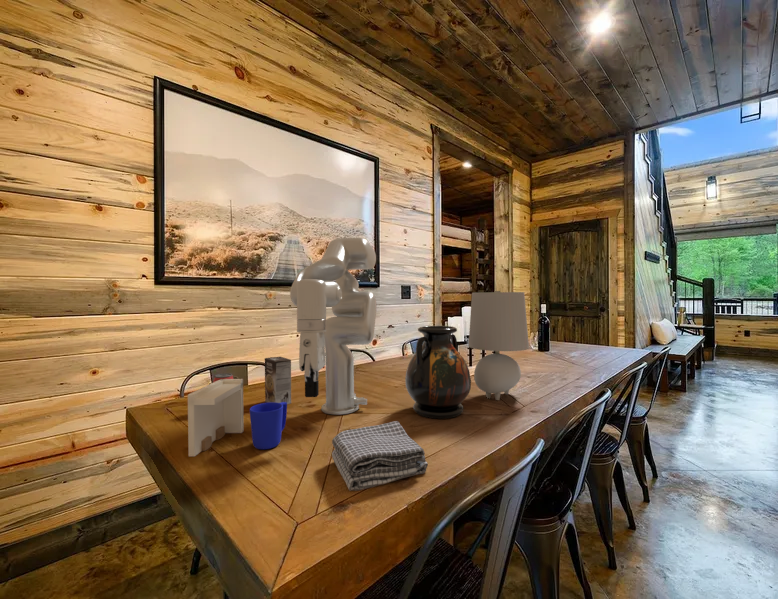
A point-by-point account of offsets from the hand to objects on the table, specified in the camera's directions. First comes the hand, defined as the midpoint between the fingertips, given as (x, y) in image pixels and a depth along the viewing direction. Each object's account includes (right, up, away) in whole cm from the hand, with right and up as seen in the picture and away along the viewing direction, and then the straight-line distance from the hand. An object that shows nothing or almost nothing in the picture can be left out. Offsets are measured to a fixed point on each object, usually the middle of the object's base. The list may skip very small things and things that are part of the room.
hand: (311, 396), depth 91 cm
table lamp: (+62, -12, +40) cm, 74 cm away
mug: (-11, -13, +1) cm, 17 cm away
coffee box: (-20, -13, +36) cm, 43 cm away
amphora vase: (+36, -12, +24) cm, 45 cm away
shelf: (-25, -13, +1) cm, 28 cm away
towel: (+18, -13, -14) cm, 26 cm away
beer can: (-36, -13, +28) cm, 48 cm away
